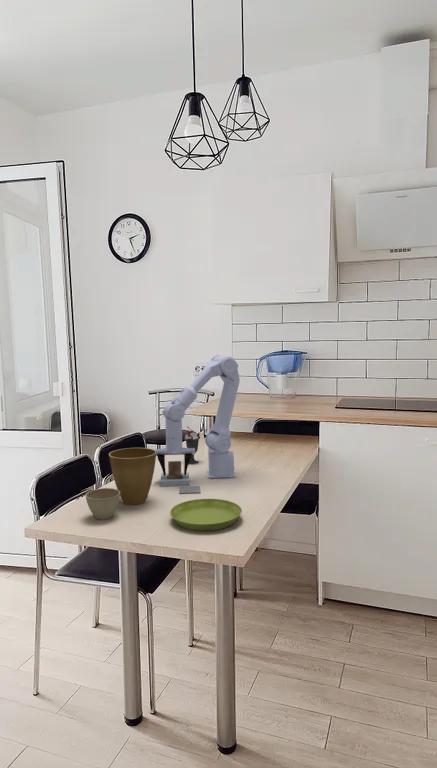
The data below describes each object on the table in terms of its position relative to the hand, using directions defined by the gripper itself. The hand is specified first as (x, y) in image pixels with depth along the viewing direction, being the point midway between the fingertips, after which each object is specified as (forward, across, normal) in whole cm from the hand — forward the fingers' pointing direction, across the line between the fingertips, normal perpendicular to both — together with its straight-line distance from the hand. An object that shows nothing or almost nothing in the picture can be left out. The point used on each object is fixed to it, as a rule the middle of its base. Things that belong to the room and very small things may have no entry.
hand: (174, 474), depth 199 cm
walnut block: (+3, 0, 0) cm, 3 cm away
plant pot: (+3, -13, -20) cm, 24 cm away
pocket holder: (+3, 0, 0) cm, 3 cm away
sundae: (+3, +7, +26) cm, 27 cm away
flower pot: (+3, -21, -32) cm, 39 cm away
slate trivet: (+3, +5, -10) cm, 12 cm away
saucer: (+3, +9, -38) cm, 40 cm away
